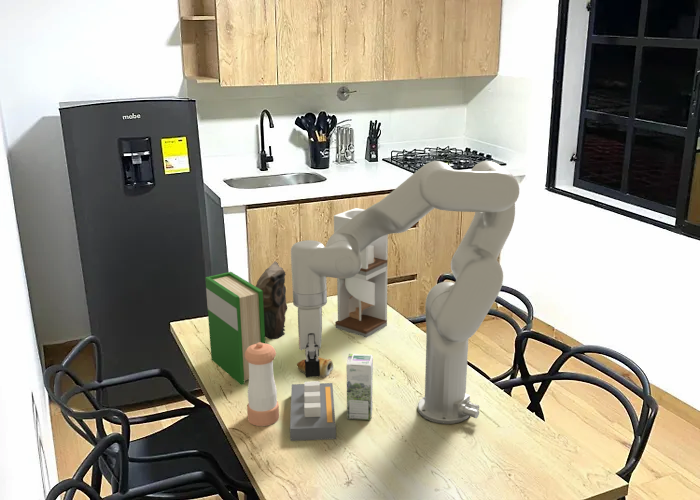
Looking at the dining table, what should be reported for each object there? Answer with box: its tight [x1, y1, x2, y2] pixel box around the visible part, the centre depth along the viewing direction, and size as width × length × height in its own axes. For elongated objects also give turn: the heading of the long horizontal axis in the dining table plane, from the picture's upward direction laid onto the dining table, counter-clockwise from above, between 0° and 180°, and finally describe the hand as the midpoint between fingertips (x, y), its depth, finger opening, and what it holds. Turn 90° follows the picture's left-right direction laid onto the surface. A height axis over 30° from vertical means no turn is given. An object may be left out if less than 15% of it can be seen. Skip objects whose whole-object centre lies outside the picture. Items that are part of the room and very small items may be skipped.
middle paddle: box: [304, 392, 320, 403], centre depth 165 cm, size 1×4×3 cm, turn 94°
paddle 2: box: [304, 403, 321, 417], centre depth 160 cm, size 1×4×3 cm, turn 93°
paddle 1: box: [303, 380, 321, 392], centre depth 170 cm, size 1×4×3 cm, turn 94°
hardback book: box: [205, 271, 266, 386], centre depth 186 cm, size 18×7×24 cm, turn 35°
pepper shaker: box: [245, 342, 280, 427], centre depth 163 cm, size 7×7×19 cm
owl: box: [255, 260, 288, 340], centre depth 209 cm, size 13×13×20 cm
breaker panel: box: [289, 382, 337, 442], centre depth 166 cm, size 20×10×3 cm, turn 3°
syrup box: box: [346, 353, 374, 421], centre depth 165 cm, size 6×6×14 cm
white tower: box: [333, 207, 389, 338], centre depth 209 cm, size 11×11×35 cm
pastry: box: [296, 356, 334, 378], centre depth 188 cm, size 9×7×4 cm
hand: (312, 366), depth 163 cm, fingers open, 9 cm apart
